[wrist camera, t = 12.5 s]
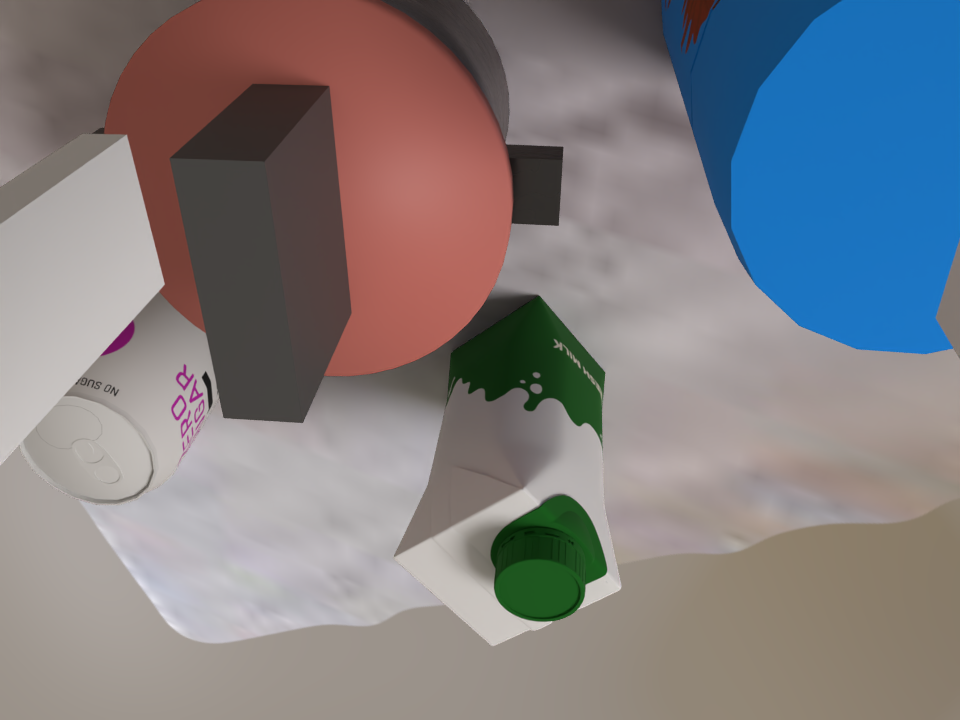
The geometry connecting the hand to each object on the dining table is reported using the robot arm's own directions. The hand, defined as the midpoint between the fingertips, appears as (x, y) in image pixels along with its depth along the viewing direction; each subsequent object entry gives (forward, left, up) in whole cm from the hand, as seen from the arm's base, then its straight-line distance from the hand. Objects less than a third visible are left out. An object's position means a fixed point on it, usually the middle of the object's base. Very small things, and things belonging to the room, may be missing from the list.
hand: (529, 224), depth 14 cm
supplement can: (+22, +22, -34) cm, 46 cm away
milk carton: (+1, +25, -34) cm, 42 cm away
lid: (+10, +9, -21) cm, 25 cm away
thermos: (-10, +2, -34) cm, 35 cm away
